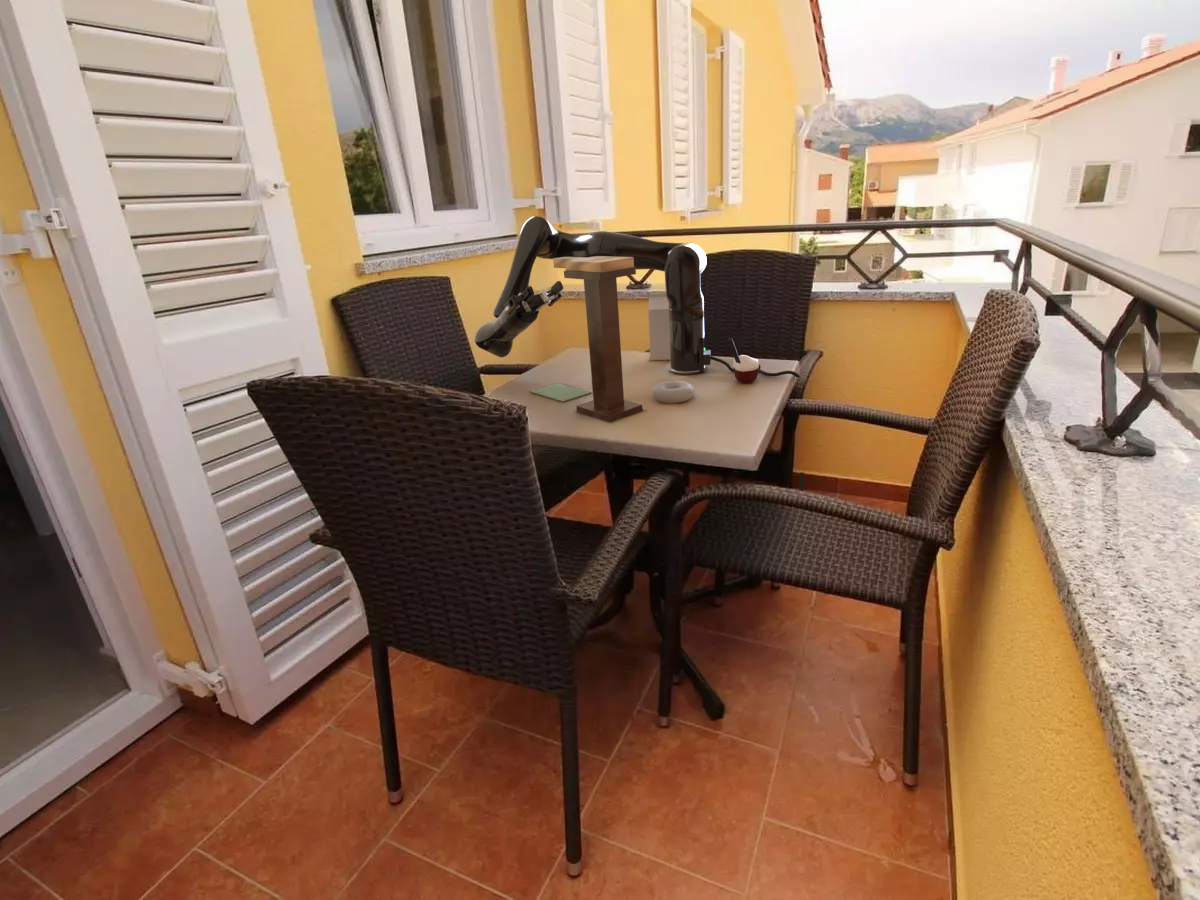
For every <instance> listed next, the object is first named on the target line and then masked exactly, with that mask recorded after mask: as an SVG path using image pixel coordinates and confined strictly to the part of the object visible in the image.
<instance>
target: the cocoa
mask: <svg viewBox="0 0 1200 900" xmlns="http://www.w3.org/2000/svg"><path fill="white" fill-rule="evenodd" d="M727 341H728V343H729V346H730V349H731V352H732V355H733V358H734V359H733V360H732V366H733V367H732V368H733V369H734V372H733V373H734V377H735V380H736V381H738V382H739V383H741V384H752V383H753V382H755V381H756V380H757V379H758V376H759V374H760V373H759V371H760V370H761V367H762V366H761V364H759V360H758V359H757V358H754V357H751V356H749V355H746V354H740V355H739V354H738V351H737V348H736V345H735V342H734V339H733V338H730V337H728V338H727Z"/></svg>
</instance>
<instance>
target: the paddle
mask: <svg viewBox="0 0 1200 900" xmlns="http://www.w3.org/2000/svg"><path fill="white" fill-rule="evenodd" d="M552 262H553V264H552V265H553V268H555V269H565V270H564V271H582V272H599V273H602V272H608V271H614V270H620V269H625V268H631V267H634V260H633V257H611V256H594V257H587V258H585V257H560V258H554V259H552Z"/></svg>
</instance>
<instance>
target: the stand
mask: <svg viewBox="0 0 1200 900" xmlns="http://www.w3.org/2000/svg"><path fill="white" fill-rule="evenodd" d="M633 275H637V270H636V267H631V268H625V269H620V270H614V271H608V272H602V273H599V272H582V271H566V270H563V277H564V279H574V280H583V288H584V300H585V301H584V302H585V310H586V311H585V312H586V325H587V337H588V347H589V348H588V349H589V362H590V363H589V364H590V375H591V386H592V387H591V388H592V397H593V399H592V400H589V401H587V402H583V403H581V404H577V405H575V407H576V408H575V409H576V413H580V414H583V415H586V416H589V417H591V418H595V419H598V420H601V421H605V422H608V423H612V422H616V421H618V420H621V419H624V418H627V417H629V416H632V415H635V414H638V413H640V412H643V411H644V409H643V404H641V403H638V402H634V401H631V400H626V399H625V395H624V379H623V362H622V347H621V331H620V330H621V329H620V313H619V298H618V297H619V296H618V283H617V280H618V279H617V278H621V277H622V278H623V277H628V276H633Z"/></svg>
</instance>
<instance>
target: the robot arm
mask: <svg viewBox="0 0 1200 900" xmlns="http://www.w3.org/2000/svg"><path fill="white" fill-rule="evenodd" d="M594 256H611V257H633V260H634V267H636V271H637V270H638V271H639V270H654V271H659V272H664V285H665V293H666V296H667V300H668V303H669V333H670V360H669V361H670V362H669V365H670V367H669V369H670V370H669V371H670V372H672V373H673V374H678V375H693V374H695V375H696V374H700V373H705V369H706V366H711V362H712V361H714V362H718V363H721V364H722V365H724V366H726V367H727V369H728V370H729V371H730V372H732V373H734V367H732V366H731V364H730V363H729V362H727V361H726V360H724V359H721V358H718V357H715V356H713V355H711V353H712V350H711V349H706V346H705V313H704V312H705V310H704V308H705V307H704V306H705V304H704V303H705V301H704V300H705V299H704V295H703V293H702V289H701V274H702V273H703V271H704V270H705V268H706V266H707V256H706V253H705V251H704V250H703V249H702V248H701V247H700V246H699V245H697V244H695V243H693V242H692V243H691V242H669V241H668V242H667V241H656V240H652V239H648V238H645V237H639V236H635V235H631V234H625V233H621V232H613V231H607V230H606V231H605V230H597V231H591V232H588V233H583V234H576V233H570V232H565V231H561V230H558V229H556V228H555V227H554V226H553V225H552V224H551V222H550V221H548V220H547V219H546V218H545V217H543V216H541V215H535V216H531V217H530V218H528V219H527V220H526V221H525V222H524V224H523V225H522V228H521V229H520V233H519V236H518V239H517V244H516V248H515V252H514V255H513V258H512V262H511V265H510V269H509V271H508V274H507V277H506V281H505V283H504V286H503V288H502V290H501V293H500V294H499V297H498V300H497V302H496V304H495V306H494V309H493V311H492V315H493V317H494V319H492V320H489V321H487V322H485V323H483V324H481V326H479V327H478V329H477V330H476V332H475V334H474V342H475V345H476V346H477V347H478V348H479V349H481V350H483V351H485V352H488V353H489V354H492V355H494V356H496V357H498V358H506V357H507V356H508V355H509V354H510V353H511V351H512V349H513V345H514V340H515V339H516V338H517V337H518V336H519V335H520V334H522V333H523V332H525V331H526V330H527V329H528V328H529V327H530V326H531V325H532V324H533V323H534V322H535V321H536V320H537V319H538V317H539V313H540V310H542V308H543V307H545V306H547V307H552V306H553V305H555V303H557V302H558V301H559V300H561V298H563V294H562V291H563V289H564V286H563V284H562V281H561V280H557V281H556V282H555V283H554V284H552V286H551V287H549V288H547V289H542V290H540V291H537V293H535V291H534V289H533V287H532V285H530V280H531V274H532V271H533V266H534V264H535V262H536V259H537V258H540V259H545V260H553V259H554V258H560V257H585V258H587V257H594ZM542 295H543V296H544V297H543V296H542ZM711 360H712V361H711ZM758 374H761V375H762V376H763V375H764V376H767V377H781V376H784V375H791V376H794V377H795V378H801V375H800V374H799V373H798V372H795V371H793V370H783V371H778V372H767V371H765V370H763V369H760V371H759V373H758ZM804 477H805V471H802V472H800V474H799V491H800V490H801V491H803V492H804Z"/></svg>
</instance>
